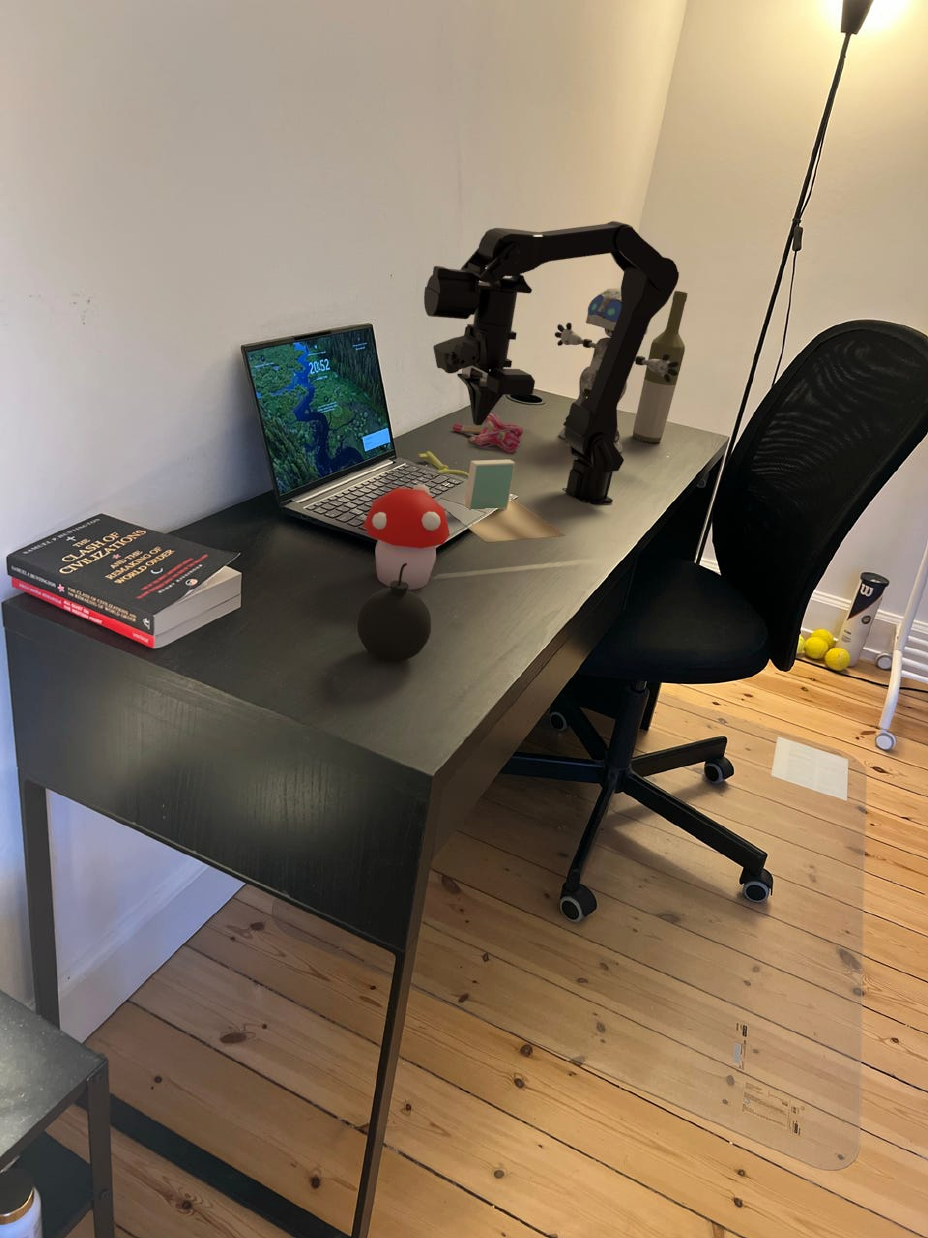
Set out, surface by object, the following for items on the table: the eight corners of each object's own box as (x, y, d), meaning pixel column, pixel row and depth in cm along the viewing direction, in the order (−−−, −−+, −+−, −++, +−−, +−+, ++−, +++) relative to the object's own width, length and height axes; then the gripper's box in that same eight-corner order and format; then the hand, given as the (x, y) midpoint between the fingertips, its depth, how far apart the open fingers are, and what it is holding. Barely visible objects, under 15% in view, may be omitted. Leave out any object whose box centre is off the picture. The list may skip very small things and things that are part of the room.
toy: (449, 447, 186) (518, 463, 180) (439, 435, 180) (509, 451, 174) (462, 413, 187) (531, 428, 181) (452, 400, 181) (523, 415, 175)
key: (427, 461, 167) (428, 449, 166) (476, 485, 160) (478, 473, 159) (396, 466, 162) (398, 454, 161) (446, 491, 155) (448, 479, 154)
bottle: (623, 434, 201) (656, 287, 188) (647, 433, 205) (681, 289, 191) (645, 445, 196) (680, 294, 183) (669, 443, 200) (706, 296, 186)
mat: (509, 500, 154) (509, 496, 154) (565, 538, 142) (565, 535, 142) (433, 504, 147) (434, 500, 147) (485, 545, 135) (486, 542, 135)
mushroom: (411, 605, 115) (423, 512, 110) (340, 575, 120) (348, 485, 114) (458, 580, 123) (471, 493, 118) (390, 553, 128) (400, 468, 123)
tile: (501, 504, 150) (509, 459, 146) (507, 508, 148) (515, 462, 145) (463, 507, 146) (470, 460, 143) (468, 511, 145) (476, 464, 142)
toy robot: (517, 423, 197) (543, 272, 184) (556, 418, 205) (583, 273, 191) (633, 471, 178) (671, 307, 165) (670, 465, 186) (710, 307, 172)
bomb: (349, 638, 105) (359, 539, 100) (419, 639, 108) (433, 542, 102) (358, 675, 99) (370, 571, 93) (432, 675, 101) (448, 573, 96)
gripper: (416, 305, 143) (404, 407, 150) (477, 334, 129) (461, 445, 136) (479, 308, 148) (465, 407, 155) (545, 336, 134) (526, 443, 141)
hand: (477, 424), depth 147 cm, fingers closed
